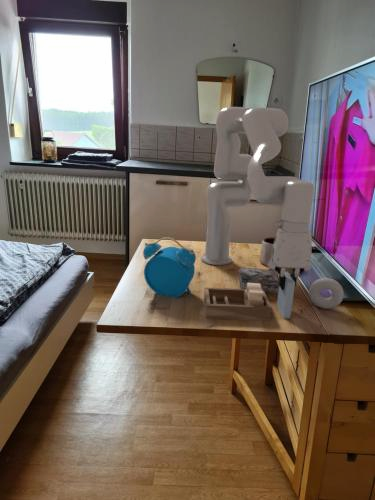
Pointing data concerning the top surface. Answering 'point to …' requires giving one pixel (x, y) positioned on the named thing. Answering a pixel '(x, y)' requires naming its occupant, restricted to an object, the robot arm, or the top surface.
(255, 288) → the offcut top
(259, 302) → the block
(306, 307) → the top surface
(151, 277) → the alarm clock
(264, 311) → the rack
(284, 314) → the light blue flat box
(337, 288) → the tape roll
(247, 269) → the rock
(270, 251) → the planter
